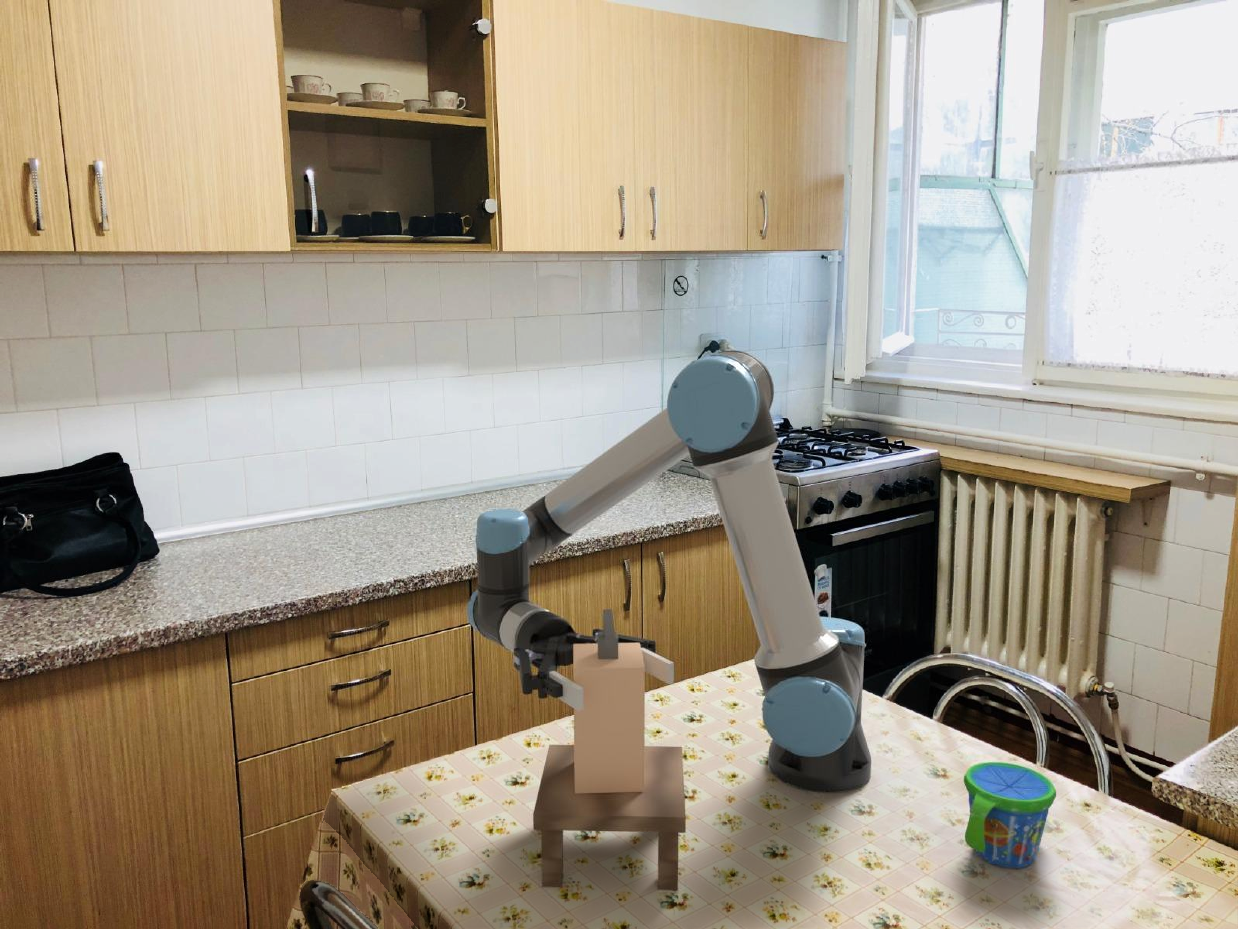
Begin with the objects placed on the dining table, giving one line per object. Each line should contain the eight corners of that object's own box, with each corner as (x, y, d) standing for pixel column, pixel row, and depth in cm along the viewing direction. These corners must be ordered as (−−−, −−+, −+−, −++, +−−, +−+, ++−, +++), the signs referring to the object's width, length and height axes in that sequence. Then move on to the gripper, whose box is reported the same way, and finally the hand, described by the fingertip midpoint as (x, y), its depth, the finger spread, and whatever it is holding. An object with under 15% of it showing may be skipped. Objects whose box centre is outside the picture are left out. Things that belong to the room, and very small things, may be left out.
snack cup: (1006, 817, 135) (1011, 748, 133) (1078, 854, 127) (1084, 780, 125) (930, 853, 127) (934, 780, 125) (1001, 895, 118) (1007, 817, 116)
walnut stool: (681, 814, 136) (681, 746, 134) (684, 894, 118) (685, 817, 117) (550, 812, 137) (549, 744, 135) (534, 891, 119) (533, 814, 117)
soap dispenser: (574, 761, 130) (572, 600, 126) (639, 759, 131) (639, 599, 127) (575, 812, 118) (573, 635, 114) (647, 810, 118) (647, 634, 114)
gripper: (611, 643, 146) (705, 691, 128) (457, 682, 131) (539, 742, 114) (611, 594, 144) (706, 636, 127) (455, 628, 130) (538, 680, 113)
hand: (627, 686), depth 121 cm, fingers open, 13 cm apart
